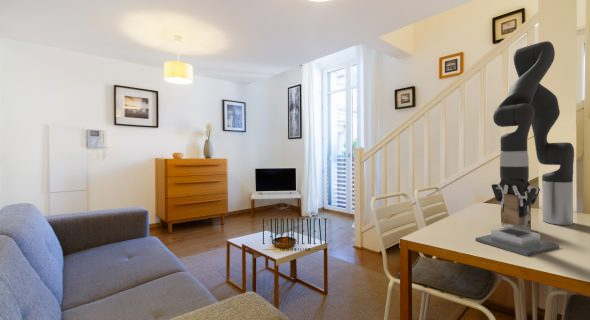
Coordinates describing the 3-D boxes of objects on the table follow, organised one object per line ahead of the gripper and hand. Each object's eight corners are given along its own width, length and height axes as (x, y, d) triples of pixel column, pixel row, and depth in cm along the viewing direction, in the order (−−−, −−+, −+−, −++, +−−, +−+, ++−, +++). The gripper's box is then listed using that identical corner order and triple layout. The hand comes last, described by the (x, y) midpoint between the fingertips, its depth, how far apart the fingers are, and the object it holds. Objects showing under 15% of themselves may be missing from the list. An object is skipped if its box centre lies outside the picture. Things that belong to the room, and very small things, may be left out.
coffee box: (532, 231, 104) (531, 189, 104) (512, 231, 106) (512, 189, 105) (517, 225, 113) (517, 186, 113) (500, 224, 115) (499, 186, 114)
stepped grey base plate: (505, 234, 103) (505, 223, 103) (558, 247, 88) (558, 235, 88) (475, 240, 97) (475, 229, 97) (527, 256, 82) (527, 243, 82)
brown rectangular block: (511, 221, 95) (511, 192, 94) (525, 224, 91) (524, 194, 91) (504, 223, 93) (503, 193, 93) (517, 226, 90) (517, 195, 89)
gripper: (546, 165, 86) (547, 219, 87) (499, 163, 100) (499, 210, 100) (531, 166, 84) (532, 222, 84) (484, 164, 97) (485, 213, 97)
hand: (514, 215), depth 92 cm, fingers closed on brown rectangular block, 4 cm apart
